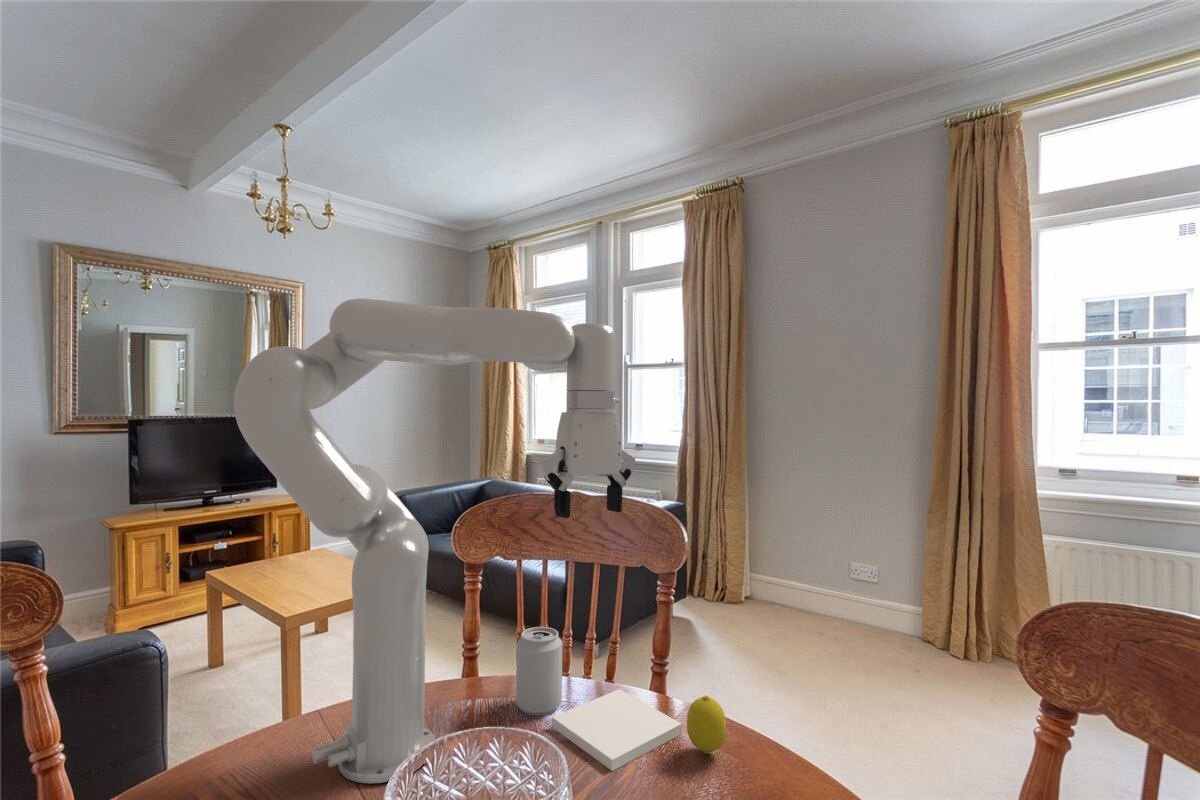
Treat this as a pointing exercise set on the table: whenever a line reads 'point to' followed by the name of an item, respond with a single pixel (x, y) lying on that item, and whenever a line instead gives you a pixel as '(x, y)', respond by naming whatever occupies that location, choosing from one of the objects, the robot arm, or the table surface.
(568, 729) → the plate
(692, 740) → the lemon
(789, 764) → the table surface
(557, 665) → the can
